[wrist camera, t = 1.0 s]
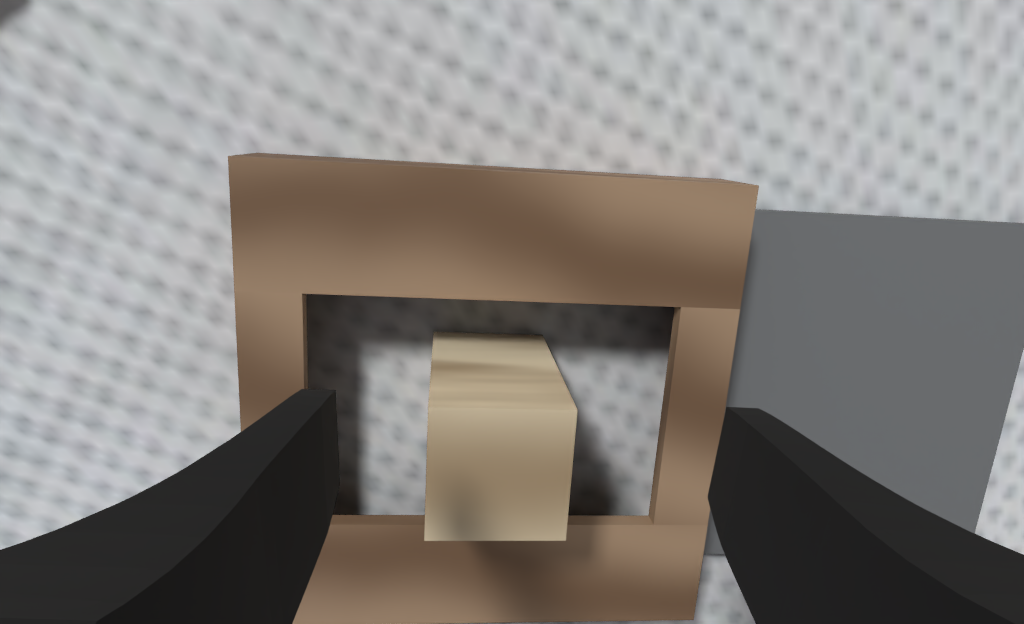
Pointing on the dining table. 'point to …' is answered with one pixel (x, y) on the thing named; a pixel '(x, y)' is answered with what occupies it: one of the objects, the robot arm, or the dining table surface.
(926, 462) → the mat
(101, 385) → the dining table surface
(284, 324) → the wooden square frame
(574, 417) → the block
